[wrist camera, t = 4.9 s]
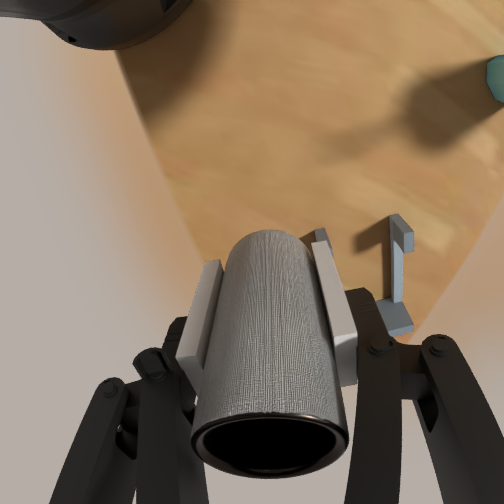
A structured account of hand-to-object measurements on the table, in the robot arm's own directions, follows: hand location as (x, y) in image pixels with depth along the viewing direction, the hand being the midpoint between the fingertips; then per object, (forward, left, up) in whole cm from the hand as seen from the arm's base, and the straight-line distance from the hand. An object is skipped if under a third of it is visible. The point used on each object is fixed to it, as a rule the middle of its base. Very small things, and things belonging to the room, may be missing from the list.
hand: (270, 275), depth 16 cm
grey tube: (0, 0, -1) cm, 1 cm away
